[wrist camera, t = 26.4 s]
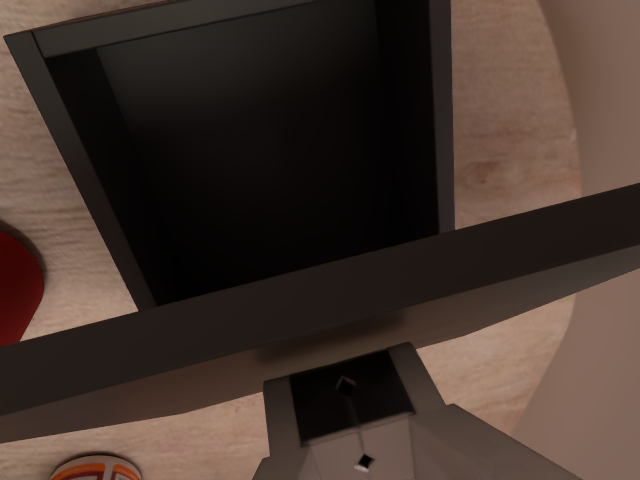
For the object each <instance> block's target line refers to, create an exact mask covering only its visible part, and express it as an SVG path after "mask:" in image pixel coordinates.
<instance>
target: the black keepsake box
mask: <svg viewBox="0 0 640 480" xmlns="http://www.w3.org/2000/svg"><path fill="white" fill-rule="evenodd" d="M3 38H4V40H5V42H6V44H7V46H8V48H9V50H10V52H11V54H12V56H13V58H14V60H15V62H16V64H17V66H18V68H19V70H20V72H21V74H22V76H23V78H24V80H25V82H26V84H27V87H28V89H29V91H30V93H31V95H32V97H33V99H34V101H35V103H36V105H37V107H38V109H39V111H40V113H41V115H42V117H43V119H44V121H45V123H46V125H47V127H48V129H49V131H50V133H51V135H52V137H53V139H54V141H55V143H56V145H57V147H58V149H59V151H60V153H61V155H62V157H63V159H64V161H65V163H66V165H67V167H68V169H69V171H70V173H71V175H72V177H73V179H74V181H75V183H76V185H77V187H78V189H79V191H80V194H81V196H82V198H83V200H84V202H85V204H86V206H87V208H88V210H89V212H90V214H91V216H92V218H93V220H94V222H95V224H96V226H97V228H98V230H99V232H100V234H101V236H102V238H103V240H104V242H105V244H106V246H107V248H108V250H109V252H110V254H111V256H112V258H113V260H114V262H115V264H116V266H117V268H118V270H119V272H120V274H121V276H122V278H123V280H124V282H125V284H126V286H127V288H128V290H129V292H130V294H131V296H132V298H133V301H134V303H135V305H136V307H137V309H138V311H142V310H146V309H150V308H154V307H157V306H161V305H165V304H169V303H173V302H177V301H181V300H185V299H189V298H192V297H196V296H200V295H204V294H208V293H212V292H216V291H220V290H224V289H228V288H231V287H235V286H239V285H243V284H247V283H251V282H255V281H259V280H263V279H267V278H270V277H274V276H278V275H282V274H286V273H290V272H294V271H298V270H302V269H306V268H309V267H313V266H317V265H321V264H325V263H329V262H333V261H337V260H341V259H345V258H348V257H352V256H356V255H360V254H364V253H368V252H372V251H376V250H380V249H384V248H387V247H391V246H395V245H399V244H403V243H407V242H411V241H415V240H419V239H423V238H426V237H430V236H434V235H438V234H442V233H446V232H450V231H454V230H455V206H454V154H453V101H452V49H451V0H165V1H160V2H155V3H150V4H145V5H140V6H135V7H130V8H125V9H120V10H115V11H110V12H106V13H101V14H96V15H91V16H86V17H81V18H76V19H71V20H67V21H63V22H58V23H54V24H50V25H46V26H42V27H38V28H33V29H29V30H25V31H21V32H17V33H13V34H9V35H4V36H3Z"/></svg>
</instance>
